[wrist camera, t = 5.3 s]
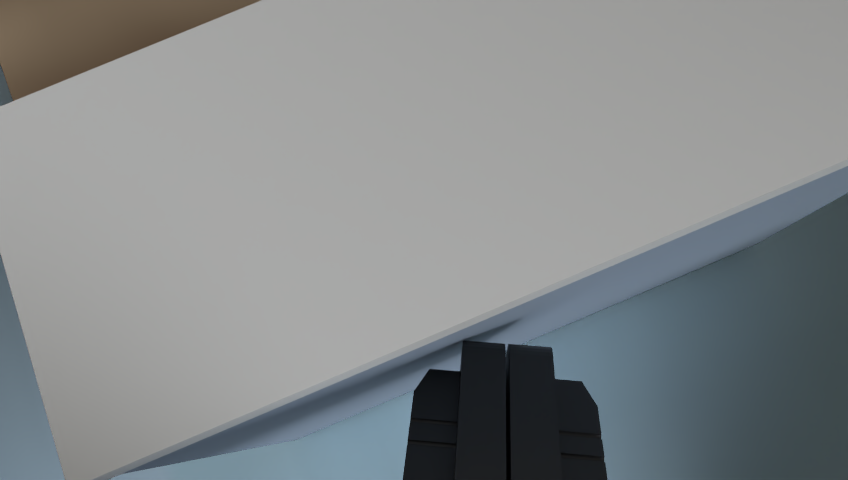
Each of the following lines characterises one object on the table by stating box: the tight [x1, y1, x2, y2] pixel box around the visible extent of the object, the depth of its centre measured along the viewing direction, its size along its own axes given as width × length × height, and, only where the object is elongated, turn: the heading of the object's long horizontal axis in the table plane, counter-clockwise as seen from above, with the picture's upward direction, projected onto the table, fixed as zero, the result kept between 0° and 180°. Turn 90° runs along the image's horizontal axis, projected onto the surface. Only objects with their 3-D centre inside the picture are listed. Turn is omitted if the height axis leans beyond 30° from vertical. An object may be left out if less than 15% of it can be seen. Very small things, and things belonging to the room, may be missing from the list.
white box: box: [0, 0, 848, 480], centre depth 16 cm, size 5×14×12 cm, turn 113°
